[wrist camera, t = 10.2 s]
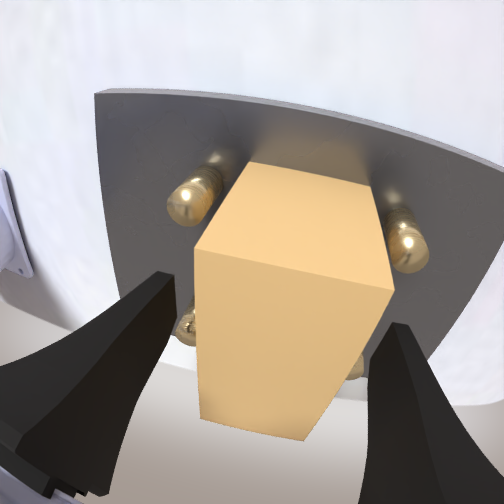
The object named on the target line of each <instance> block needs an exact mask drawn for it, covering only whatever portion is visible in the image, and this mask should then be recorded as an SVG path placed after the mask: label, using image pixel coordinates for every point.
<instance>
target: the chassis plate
mask: <svg viewBox="0 0 504 504" xmlns="http://www.w3.org/2000/svg"><path fill="white" fill-rule="evenodd" d="M94 99H95V124H96V140H97V153H98V164H99V174H100V183H101V192H102V199H103V207H104V214H105V221H106V227H107V233H108V239H109V245H110V251H111V256H112V262H113V267H114V272H115V277H116V281H117V286H118V291H119V295H120V299H122V298H123V297H124V296H126V295H127V294H128V293H129V292H131V291H132V290H133V289H134V288H136V287H137V286H138V285H140V284H141V283H142V282H143V281H145V280H146V279H147V278H149V277H150V276H151V275H152V274H154V273H155V272H157V271H161V272H164V273H168V274H172V275H174V276H175V292H176V306H177V319H176V322H175V325H174V328H173V330H172V333H171V335H173V336H176V337H177V339H178V340H179V341H181V342H182V343H184V344H186V345H188V346H194V347H195V346H196V327H195V288H194V247H195V246H196V244H197V243H198V241H199V239H200V238H201V236H202V234H203V233H204V231H205V230H206V228H207V226H208V225H209V223H210V222H211V220H212V218H213V217H214V215H215V214H216V212H217V210H218V209H219V207H220V206H221V204H222V203H223V201H224V199H225V198H226V196H227V195H228V193H229V192H230V190H231V189H232V187H233V185H234V184H235V182H236V181H237V179H238V178H239V176H240V175H241V173H242V172H243V170H244V169H245V167H246V166H247V164H248V162H254V163H260V164H266V165H271V166H277V167H282V168H287V169H293V170H298V171H303V172H307V173H312V174H317V175H322V176H326V177H331V178H335V179H340V180H344V181H348V182H353V183H357V184H361V185H365V186H369V187H371V191H372V195H373V198H374V202H375V206H376V209H377V213H378V217H379V221H380V225H381V229H382V233H383V237H384V242H385V246H386V250H387V255H388V259H389V264H390V269H391V274H392V279H393V284H394V289H395V291H394V293H393V295H392V297H391V299H390V301H389V303H388V305H387V307H386V309H385V311H384V312H383V314H382V316H381V318H380V320H379V322H378V324H377V326H376V328H375V329H374V331H373V333H372V335H371V337H370V338H369V340H368V342H367V344H366V345H365V347H364V349H363V351H362V352H361V354H360V356H359V358H358V359H357V361H356V363H355V364H354V366H353V368H352V369H351V371H350V373H349V374H348V376H347V378H346V379H345V380H354V379H357V378H359V377H366V378H368V373H369V363H370V358H371V356H372V355H373V353H374V352H375V350H376V348H377V347H378V345H379V343H380V342H381V340H382V338H383V337H384V335H385V333H386V332H387V330H388V328H389V327H390V325H391V323H392V322H395V323H401V324H407V325H409V327H410V329H411V330H412V332H413V334H414V336H415V338H416V340H417V342H418V344H419V346H420V348H421V350H422V352H423V354H424V356H425V358H426V360H428V359H429V357H430V356H431V355H432V353H433V352H434V351H435V349H436V348H437V347H438V345H439V344H440V343H441V341H442V340H443V339H444V337H445V336H446V335H447V333H448V332H449V330H450V329H451V327H452V326H453V325H454V323H455V322H456V320H457V319H458V317H459V316H460V314H461V313H462V311H463V310H464V308H465V307H466V305H467V304H468V302H469V301H470V299H471V297H472V296H473V294H474V293H475V291H476V289H477V288H478V286H479V284H480V283H481V281H482V279H483V278H484V276H485V274H486V272H487V271H488V269H489V267H490V265H491V264H492V262H493V260H494V258H495V256H496V254H497V253H498V251H499V249H500V247H501V245H502V243H503V241H504V167H501V166H499V165H497V164H495V163H492V162H490V161H488V160H485V159H483V158H481V157H478V156H476V155H473V154H471V153H468V152H466V151H463V150H461V149H458V148H455V147H453V146H450V145H447V144H444V143H442V142H439V141H436V140H433V139H430V138H427V137H424V136H421V135H418V134H415V133H412V132H409V131H405V130H402V129H399V128H396V127H392V126H389V125H385V124H382V123H378V122H374V121H371V120H367V119H363V118H359V117H355V116H351V115H347V114H342V113H338V112H334V111H329V110H324V109H320V108H315V107H310V106H305V105H299V104H294V103H288V102H282V101H276V100H270V99H263V98H256V97H248V96H241V95H232V94H223V93H213V92H201V91H187V90H169V89H107V90H104V91H101V92H97V93H94Z"/></svg>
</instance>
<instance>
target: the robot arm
mask: <svg viewBox="0 0 504 504" xmlns="http://www.w3.org/2000/svg"><path fill="white" fill-rule="evenodd" d="M3 269H7V270H9V271H11V272H14V273H16V274H18V275H21V276H23V277H26V278H29V279H30V278H31V277H32V276H33V270H32V267H31V265H30V262H29V259H28V256H27V253H26V250H25V247H24V244H23V241H22V238H21V234H20V231H19V228H18V224H17V221H16V217H15V214H14V210H13V206H12V202H11V198H10V194H9V190H8V185H7V181H6V176H5V173H4V171H3V170H2V169H1V168H0V272H1V271H2V270H3ZM176 319H177V306H176V292H175V276H174V275H172V274H168V273H164V272H161V271H157V272H155V273H154V274H152V275H151V276H150V277H149V278H147V279H146V280H145V281H143V282H142V283H141V284H140V285H138V286H137V287H136V288H134V289H133V290H132V291H131V292H129V293H128V294H127V295H126V296H124V297H123V298H122V299H120V300H119V301H118V302H116V303H115V304H114V305H112V306H111V307H110V308H108V309H107V310H106V311H104V312H103V313H101V314H100V315H98V316H97V317H95V318H94V319H93V320H91V321H90V322H88V323H87V324H85V325H84V326H82V327H81V328H79V329H78V330H76V331H74V332H73V333H71V334H69V335H68V336H66V337H64V338H63V339H61V340H59V341H57V342H55V343H53V344H51V345H49V346H47V347H45V348H43V349H41V350H39V351H37V352H35V353H33V354H31V355H28V356H26V357H24V358H21V359H19V360H16V361H14V362H11V363H8V364H6V365H3V366H0V504H84V503H82V502H80V501H78V500H76V499H74V497H75V495H76V493H79V494H81V495H83V496H86V495H87V493H88V491H89V492H91V493H93V494H95V495H97V496H99V497H100V496H104V495H107V494H109V490H110V485H111V481H112V477H113V473H114V469H115V465H116V462H117V458H118V455H119V451H120V448H121V445H122V442H123V439H124V436H125V433H126V430H127V427H128V424H129V421H130V419H131V416H132V413H133V411H134V408H135V405H136V403H137V401H138V398H139V396H140V394H141V392H142V390H143V388H144V386H145V385H146V383H147V381H148V379H149V377H150V375H151V373H152V371H153V369H154V368H155V366H156V364H157V362H158V360H159V358H160V356H161V354H162V352H163V351H164V349H165V347H166V345H167V343H168V340H169V338H170V335H171V333H172V330H173V328H174V325H175V322H176ZM367 390H368V449H367V459H366V466H365V472H364V479H363V483H362V488H361V493H360V498H359V502H358V504H504V477H503V476H502V475H501V474H500V473H499V472H498V470H497V469H496V468H495V467H494V466H493V465H492V464H491V463H490V461H489V460H488V459H487V458H486V456H485V455H484V454H483V453H482V451H481V450H480V449H479V447H478V446H477V445H476V443H475V442H474V441H473V439H472V438H471V436H470V435H469V433H468V432H467V431H466V429H465V428H464V426H463V424H462V423H461V421H460V420H459V418H458V417H457V415H456V413H455V412H454V410H453V408H452V407H451V405H450V403H449V401H448V399H447V398H446V396H445V394H444V392H443V391H442V389H441V387H440V385H439V383H438V381H437V379H436V377H435V375H434V374H433V372H432V370H431V368H430V366H429V364H428V362H427V360H426V358H425V356H424V354H423V352H422V350H421V348H420V346H419V344H418V342H417V340H416V338H415V336H414V334H413V332H412V330H411V329H410V327H409V325H407V324H401V323H395V322H392V323H391V325H390V327H389V328H388V330H387V332H386V333H385V335H384V337H383V338H382V340H381V342H380V343H379V345H378V347H377V348H376V350H375V352H374V353H373V355H372V356H371V358H370V363H369V373H368V386H367Z"/></svg>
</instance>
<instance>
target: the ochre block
mask: <svg viewBox="0 0 504 504" xmlns="http://www.w3.org/2000/svg"><path fill="white" fill-rule="evenodd" d="M194 288H195V327H196V353H197V373H198V391H199V406H200V418H201V419H204V420H207V421H211V422H215V423H218V424H222V425H226V426H230V427H234V428H239V429H243V430H247V431H252V432H256V433H261V434H266V435H271V436H276V437H282V438H288V439H293V440H299V441H304V440H305V438H306V437H307V436H308V434H309V433H310V432H311V430H312V429H313V427H314V426H315V425H316V423H317V422H318V420H319V419H320V417H321V416H322V414H323V413H324V412H325V410H326V408H327V407H328V406H329V404H330V403H331V401H332V399H333V398H334V396H335V395H336V393H337V392H338V390H339V389H340V387H341V386H342V384H343V382H344V381H345V379H346V378H347V376H348V374H349V373H350V371H351V369H352V368H353V366H354V364H355V363H356V361H357V359H358V358H359V356H360V354H361V352H362V351H363V349H364V347H365V345H366V344H367V342H368V340H369V338H370V337H371V335H372V333H373V331H374V329H375V328H376V326H377V324H378V322H379V320H380V318H381V316H382V314H383V312H384V311H385V309H386V307H387V305H388V303H389V301H390V299H391V297H392V295H393V293H394V291H395V289H394V284H393V279H392V274H391V269H390V264H389V259H388V255H387V250H386V246H385V242H384V237H383V233H382V229H381V225H380V221H379V217H378V213H377V209H376V206H375V202H374V198H373V195H372V191H371V187H369V186H365V185H361V184H357V183H353V182H348V181H344V180H340V179H335V178H331V177H326V176H322V175H317V174H312V173H307V172H303V171H298V170H293V169H287V168H282V167H277V166H271V165H266V164H260V163H254V162H248V164H247V166H246V167H245V169H244V170H243V172H242V173H241V175H240V176H239V178H238V179H237V181H236V182H235V184H234V185H233V187H232V189H231V190H230V192H229V193H228V195H227V196H226V198H225V199H224V201H223V203H222V204H221V206H220V207H219V209H218V210H217V212H216V214H215V215H214V217H213V218H212V220H211V222H210V223H209V225H208V226H207V228H206V230H205V231H204V233H203V234H202V236H201V238H200V239H199V241H198V243H197V244H196V246H195V247H194Z"/></svg>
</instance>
